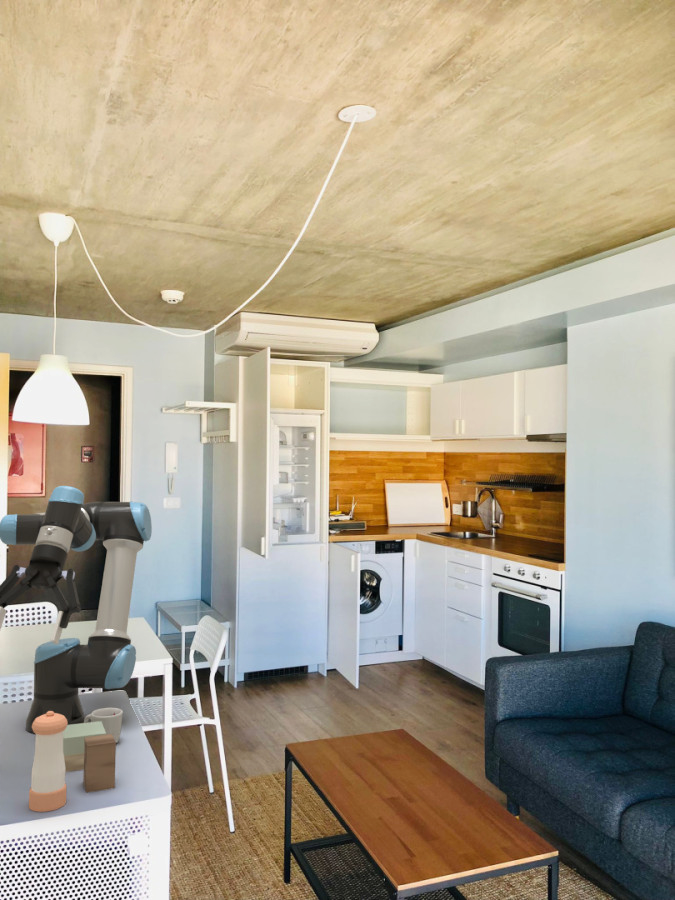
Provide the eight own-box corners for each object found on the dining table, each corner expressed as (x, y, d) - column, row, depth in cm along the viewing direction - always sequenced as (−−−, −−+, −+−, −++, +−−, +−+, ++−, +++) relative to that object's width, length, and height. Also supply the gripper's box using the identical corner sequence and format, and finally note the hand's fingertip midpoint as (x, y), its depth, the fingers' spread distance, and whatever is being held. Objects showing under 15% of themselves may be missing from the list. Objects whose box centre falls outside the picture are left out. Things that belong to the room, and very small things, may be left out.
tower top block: (58, 742, 181) (58, 725, 181) (100, 737, 185) (101, 721, 185) (61, 756, 172) (61, 738, 172) (105, 750, 176) (106, 733, 176)
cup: (74, 745, 190) (75, 713, 190) (94, 735, 197) (95, 704, 197) (109, 750, 186) (109, 718, 186) (128, 740, 193) (129, 709, 194)
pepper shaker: (35, 797, 158) (38, 706, 159) (70, 796, 158) (72, 706, 159) (23, 812, 150) (26, 717, 151) (60, 811, 151) (62, 716, 152)
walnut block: (83, 782, 166) (84, 737, 166) (111, 778, 168) (111, 733, 169) (86, 792, 160) (87, 745, 161) (114, 788, 163) (115, 742, 163)
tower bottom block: (58, 759, 180) (58, 743, 181) (101, 753, 185) (101, 737, 185) (61, 774, 171) (62, 756, 172) (106, 767, 176) (106, 750, 176)
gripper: (-8, 538, 167) (-41, 630, 156) (99, 546, 166) (74, 638, 155) (5, 552, 174) (-26, 640, 163) (109, 559, 172) (85, 649, 161)
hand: (23, 640), depth 159 cm, fingers open, 13 cm apart
